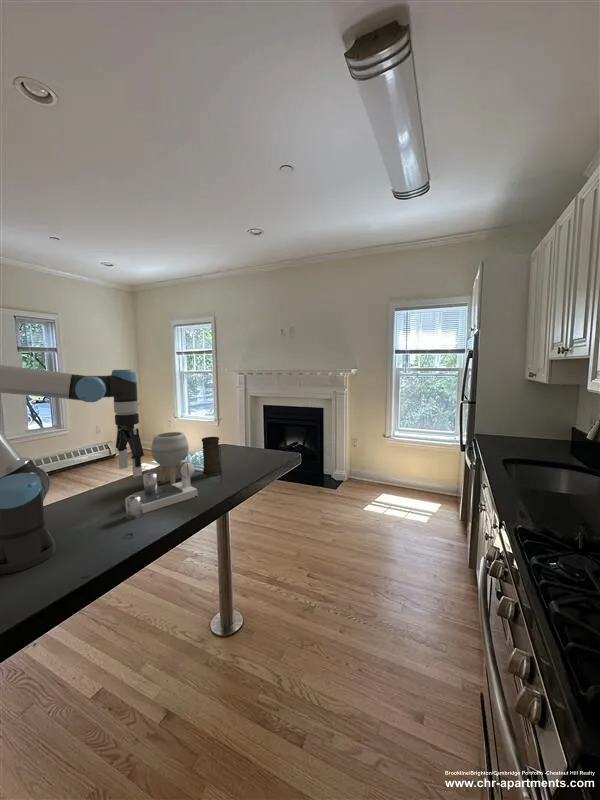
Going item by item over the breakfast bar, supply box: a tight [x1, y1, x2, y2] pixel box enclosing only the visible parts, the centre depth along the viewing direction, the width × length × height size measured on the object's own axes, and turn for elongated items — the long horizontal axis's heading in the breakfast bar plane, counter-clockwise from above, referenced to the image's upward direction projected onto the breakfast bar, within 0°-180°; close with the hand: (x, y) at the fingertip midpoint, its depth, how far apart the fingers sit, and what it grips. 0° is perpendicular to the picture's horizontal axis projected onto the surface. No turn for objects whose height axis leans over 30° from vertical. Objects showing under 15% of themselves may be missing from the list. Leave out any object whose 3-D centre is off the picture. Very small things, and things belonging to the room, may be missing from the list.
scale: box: [130, 459, 198, 514], centre depth 138 cm, size 24×14×14 cm, turn 135°
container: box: [201, 436, 222, 477], centre depth 169 cm, size 9×9×18 cm
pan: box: [132, 482, 183, 504], centre depth 136 cm, size 15×12×1 cm
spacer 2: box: [142, 471, 158, 494], centre depth 136 cm, size 5×5×7 cm
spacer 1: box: [124, 494, 143, 520], centre depth 123 cm, size 5×5×7 cm
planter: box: [150, 431, 189, 484], centre depth 158 cm, size 16×16×22 cm
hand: (130, 471), depth 122 cm, fingers open, 13 cm apart
